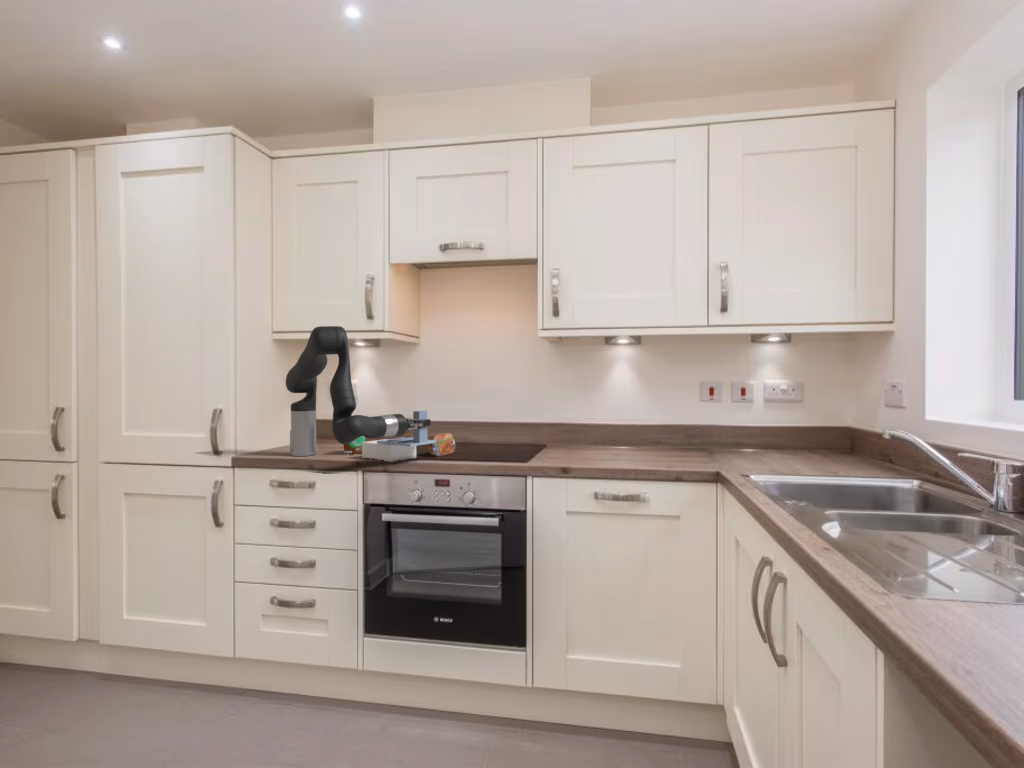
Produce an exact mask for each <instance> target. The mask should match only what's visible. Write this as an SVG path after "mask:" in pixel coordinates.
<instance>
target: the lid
mask: <svg viewBox="0 0 1024 768" xmlns="http://www.w3.org/2000/svg"><path fill="white" fill-rule="evenodd" d="M412 414H413V415H412V416H413V418H412V419H419V420H421V419H423V420H426V419H428V410H414V411H412ZM412 430H413V433H412V434H413V435H412V436H411V437H398V438H387V439H388V440H383V439H379V440H380V441H377V443H381V444H390V445H400V446H416V447H417V446H424V445H428V444H431V443H436V440H429V439H428V426H426V427H425V428H420V429H412Z"/></svg>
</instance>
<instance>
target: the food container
mask: <svg viewBox="0 0 1024 768" xmlns="http://www.w3.org/2000/svg"><path fill="white" fill-rule="evenodd" d="M362 442H366V438H365V437H364V436H361V437H359V438H357V439H356V440H354V441H352V442H351V443H349V444H343V455H344V454H346V455H345V456H355V455H354V454H359V455H362ZM347 454H349V455H347Z"/></svg>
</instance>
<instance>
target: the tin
mask: <svg viewBox="0 0 1024 768" xmlns="http://www.w3.org/2000/svg"><path fill="white" fill-rule="evenodd" d="M428 440H436V443H431V444H427V448H428V452H429V454H430V455H432V457H433V456H435V457H442V456H446V455H451V454H453V453H454V451H455V450H456V447H457V439H456V436H455V435H454V433H453V432H450V431H449V432H443V433H441V432H440V433H436V434H435V433H434V434H432V435H431V436H430V437H428Z"/></svg>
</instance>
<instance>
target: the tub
mask: <svg viewBox="0 0 1024 768" xmlns="http://www.w3.org/2000/svg"><path fill="white" fill-rule="evenodd" d="M388 439H389V438H385V439H382V440H388ZM380 440H381V439H378V440H377V439H376V440H369V441H365V442H362V454H361V456H362V457H361V458H362V459H364V458H375V459H379V460H378V461H380V460H384V461H383V462H389V463H395V462H398V461H397V460H401V461H405V460H412V459H417V446H400V445H390V444H381V443H377V441H380ZM394 461H395V462H394Z"/></svg>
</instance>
